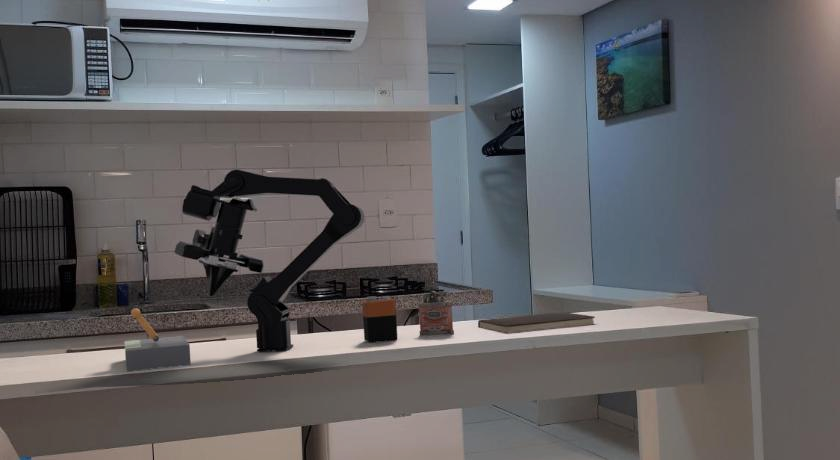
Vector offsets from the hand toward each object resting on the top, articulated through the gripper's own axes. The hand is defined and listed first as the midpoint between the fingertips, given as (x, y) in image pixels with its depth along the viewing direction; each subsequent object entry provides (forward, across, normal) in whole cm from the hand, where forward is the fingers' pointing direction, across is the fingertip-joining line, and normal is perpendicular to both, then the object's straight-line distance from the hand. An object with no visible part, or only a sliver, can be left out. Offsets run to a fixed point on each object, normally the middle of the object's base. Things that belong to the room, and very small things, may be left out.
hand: (210, 295), depth 175 cm
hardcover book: (-10, -69, +30) cm, 76 cm away
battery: (+1, -34, +19) cm, 39 cm away
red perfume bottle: (-3, -47, +21) cm, 52 cm away
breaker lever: (+10, +10, +3) cm, 15 cm away
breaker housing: (+15, +9, +4) cm, 18 cm away
